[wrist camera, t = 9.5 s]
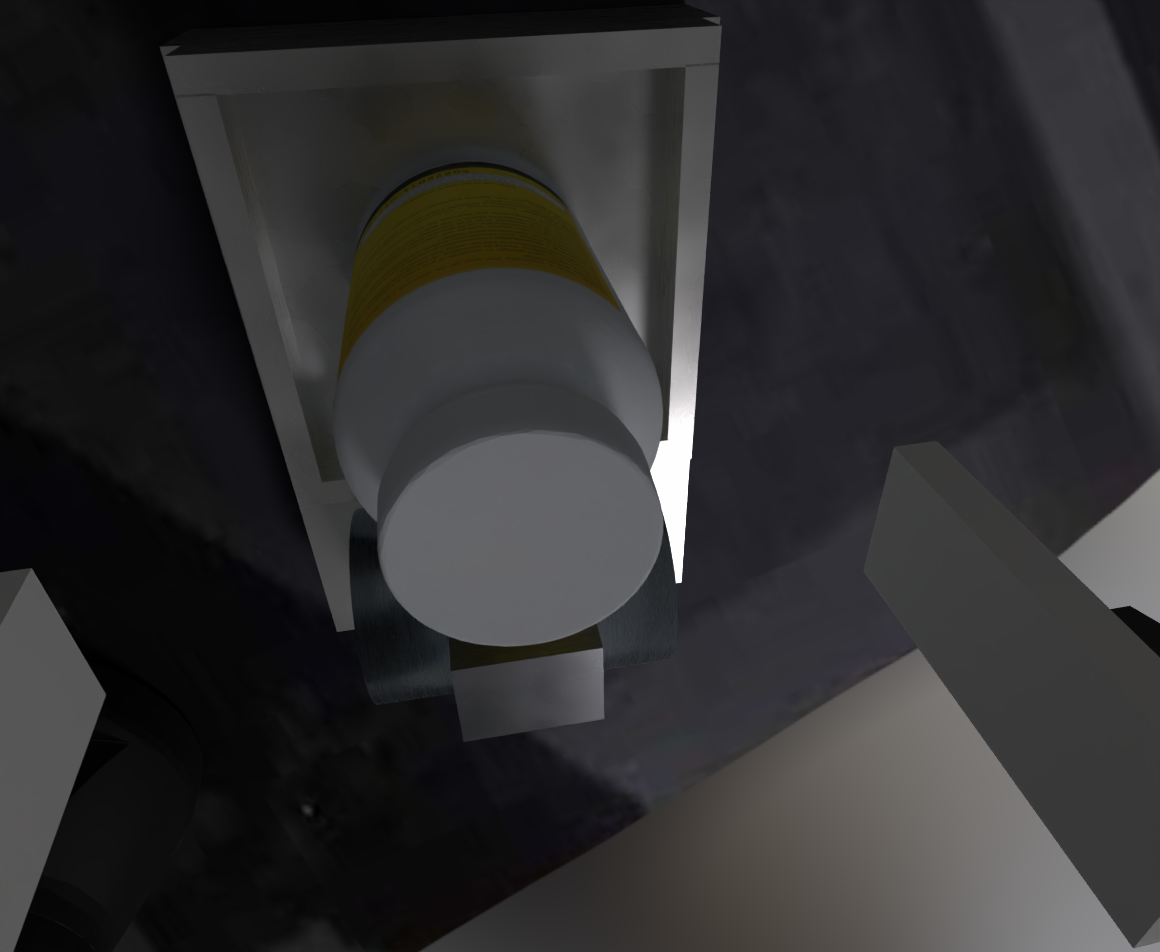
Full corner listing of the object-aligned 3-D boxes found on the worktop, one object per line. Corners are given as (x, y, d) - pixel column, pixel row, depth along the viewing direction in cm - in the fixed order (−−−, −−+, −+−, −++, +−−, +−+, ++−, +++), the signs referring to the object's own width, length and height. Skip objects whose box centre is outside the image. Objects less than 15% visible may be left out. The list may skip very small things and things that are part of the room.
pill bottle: (317, 185, 20) (237, 433, 11) (566, 126, 20) (700, 320, 11) (398, 400, 24) (391, 718, 15) (606, 349, 24) (729, 630, 15)
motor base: (189, 29, 20) (33, 120, 12) (685, 4, 22) (857, 68, 13) (342, 576, 31) (318, 819, 23) (661, 532, 33) (746, 745, 25)
